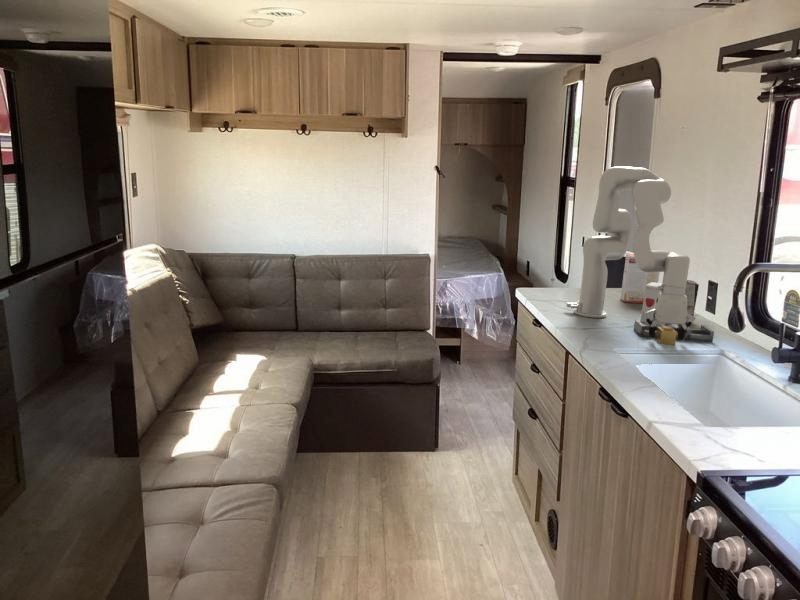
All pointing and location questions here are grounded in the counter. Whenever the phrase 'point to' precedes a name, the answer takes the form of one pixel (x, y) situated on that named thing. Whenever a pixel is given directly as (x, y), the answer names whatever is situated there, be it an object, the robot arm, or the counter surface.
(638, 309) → the counter surface
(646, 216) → the robot arm
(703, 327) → the grey compartment tray
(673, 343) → the cage nut
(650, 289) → the supplement box
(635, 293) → the cracker box
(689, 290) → the coffee box
